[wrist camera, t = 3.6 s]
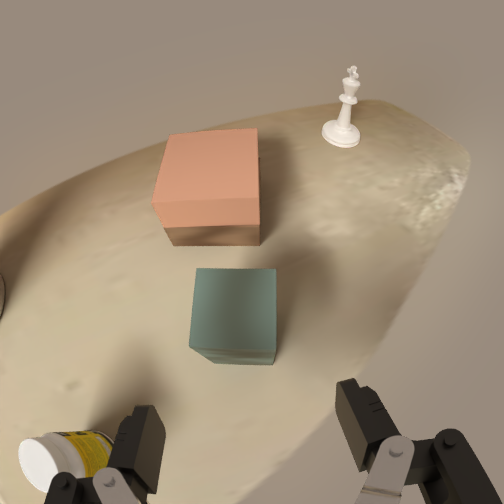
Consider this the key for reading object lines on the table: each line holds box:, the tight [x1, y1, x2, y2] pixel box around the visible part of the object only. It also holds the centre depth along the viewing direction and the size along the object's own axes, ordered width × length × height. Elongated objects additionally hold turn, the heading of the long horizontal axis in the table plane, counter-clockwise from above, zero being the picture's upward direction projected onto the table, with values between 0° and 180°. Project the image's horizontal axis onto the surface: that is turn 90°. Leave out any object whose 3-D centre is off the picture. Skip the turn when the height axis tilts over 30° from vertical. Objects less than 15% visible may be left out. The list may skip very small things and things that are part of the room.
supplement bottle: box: [19, 430, 114, 493], centre depth 14 cm, size 5×5×8 cm
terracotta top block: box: [151, 128, 260, 228], centre depth 24 cm, size 8×8×4 cm
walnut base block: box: [164, 158, 261, 246], centre depth 27 cm, size 8×8×4 cm
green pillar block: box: [189, 268, 276, 365], centre depth 19 cm, size 4×4×8 cm
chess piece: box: [322, 66, 360, 148], centre depth 29 cm, size 5×5×10 cm
